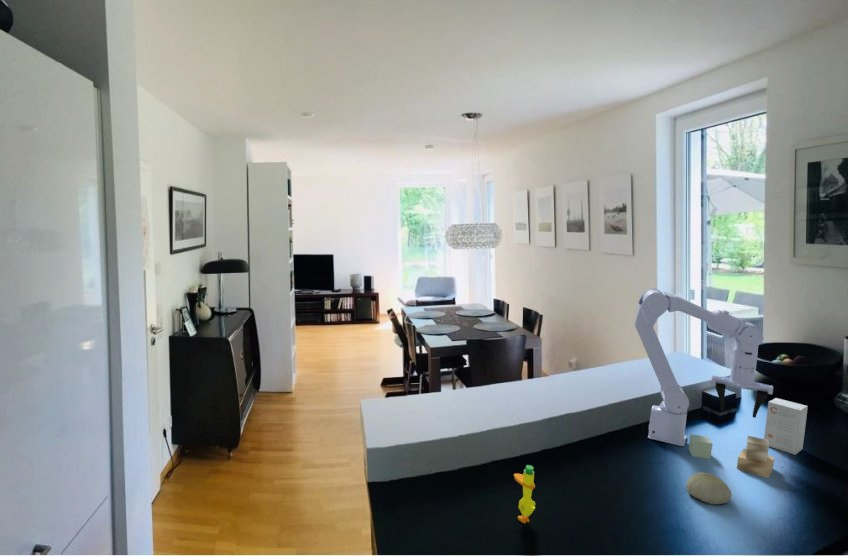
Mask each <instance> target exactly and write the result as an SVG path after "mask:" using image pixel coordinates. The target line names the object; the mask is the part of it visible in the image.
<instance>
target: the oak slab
mask: <svg viewBox="0 0 848 556" xmlns="http://www.w3.org/2000/svg"><path fill="white" fill-rule="evenodd" d="M774 463H775V457H774V456H771V455H768V457H767V463H764V462H760V461H755V460H751V459H747V458H746V448H743V449H742V450H741V452H740V453H739V455H738V456H737V463H736V469H738V470H741V471H742V472H743V471H744V472H746V473H750V474H753V475H757V476H760V477H763V478H766V479H769V478H770V476H771V474H772V472H773V469H774V466H775V464H774Z"/></svg>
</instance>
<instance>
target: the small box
mask: <svg viewBox="0 0 848 556" xmlns="http://www.w3.org/2000/svg"><path fill="white" fill-rule="evenodd" d="M808 407H809V406H808V405H804V404H802V403H798V402H794V401H789V400H785V399H782V398H777V397H775V398H773V399H772V400H769V401H768V403H767V412H766V418H765V419H766V421H765V428H764V434H763V439H766V440H768V443H769V448H774V449H776V450H780V451H783V452H786V453H787V454H788V453H789V454H792V455H794V456H795V455H797V454H798V453H800V452H801V451H802V450H803V445H804V440H805V432H806V424H807V414H808Z"/></svg>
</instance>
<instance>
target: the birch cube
mask: <svg viewBox="0 0 848 556" xmlns="http://www.w3.org/2000/svg"><path fill="white" fill-rule="evenodd" d="M746 438H747V440H746V447H745V449H746V458H747V459H751V460H755V461H760V462H764V463H767V457H768V456H769V455H768V454H769V448H770V446H769V443H768V440H766V439H764V438H761V437H756V436H752V435H747V437H746Z"/></svg>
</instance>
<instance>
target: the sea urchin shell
mask: <svg viewBox="0 0 848 556" xmlns="http://www.w3.org/2000/svg"><path fill="white" fill-rule="evenodd" d="M685 487H686V490H687V492H688V493H689V494H690V496H693V497H694V498H695V499H698V500H700V501H701V502H705V503H707V504H709V505H720V504H726V503H729V502H730V501H731V498H732V495H733V494H732V491H731V489H730V487H729V486H728V484H727V483H726V482H725V481H723V479H721V478H720V477H719V476H717V475H714V474H713V473H707V472H700V471H699V472H695V473H693V474H691V475H690V476H689V478H687V481H686V484H685Z"/></svg>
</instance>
